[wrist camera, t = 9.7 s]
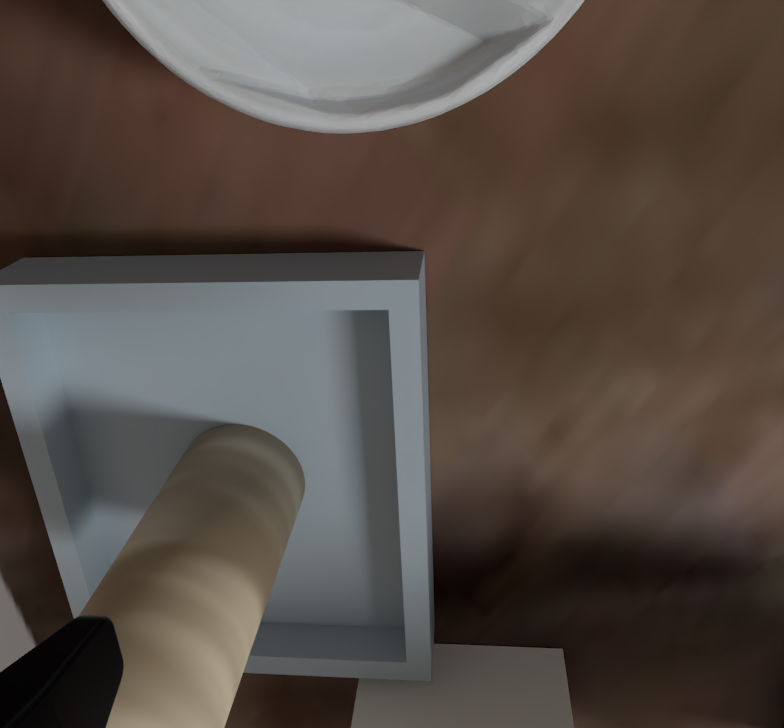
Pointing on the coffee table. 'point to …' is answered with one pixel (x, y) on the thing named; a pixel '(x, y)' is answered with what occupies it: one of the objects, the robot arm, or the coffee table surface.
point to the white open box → (472, 691)
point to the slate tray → (244, 407)
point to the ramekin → (343, 54)
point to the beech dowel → (199, 578)
